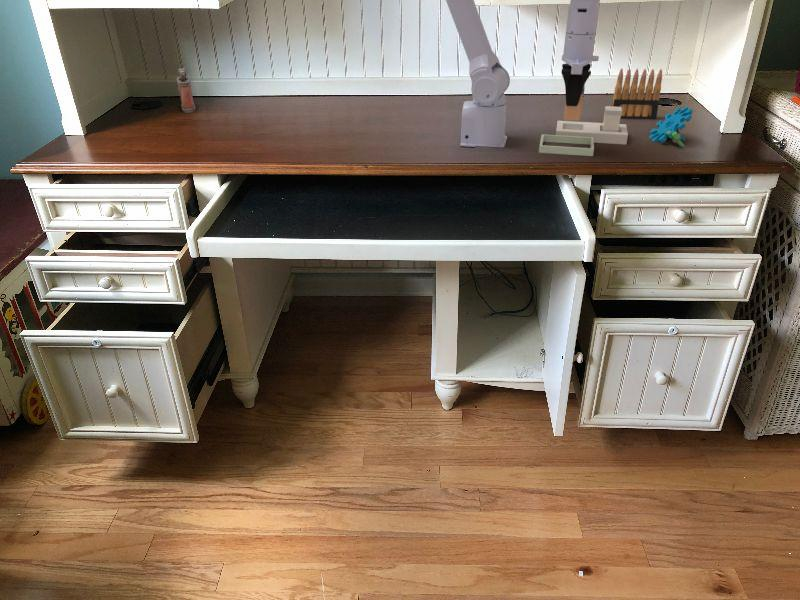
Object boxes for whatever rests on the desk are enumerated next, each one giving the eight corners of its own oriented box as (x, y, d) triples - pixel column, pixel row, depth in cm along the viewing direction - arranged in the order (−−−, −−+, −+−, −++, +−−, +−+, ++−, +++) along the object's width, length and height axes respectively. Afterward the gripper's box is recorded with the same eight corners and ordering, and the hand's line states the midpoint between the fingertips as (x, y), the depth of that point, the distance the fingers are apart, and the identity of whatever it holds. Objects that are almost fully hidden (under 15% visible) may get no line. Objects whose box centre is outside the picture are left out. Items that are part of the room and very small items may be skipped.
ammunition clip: (609, 120, 155) (618, 69, 148) (608, 118, 156) (617, 67, 150) (655, 122, 153) (666, 70, 147) (654, 119, 155) (664, 68, 148)
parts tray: (538, 155, 134) (539, 145, 133) (540, 143, 141) (541, 134, 140) (592, 158, 132) (594, 149, 131) (592, 146, 139) (593, 137, 138)
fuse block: (554, 142, 141) (556, 131, 140) (556, 131, 148) (557, 120, 146) (625, 147, 138) (627, 135, 137) (624, 135, 145) (626, 124, 143)
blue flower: (645, 126, 145) (686, 97, 139) (661, 144, 147) (702, 116, 141) (649, 148, 137) (692, 118, 131) (665, 167, 139) (708, 138, 133)
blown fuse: (563, 119, 132) (567, 88, 128) (563, 114, 135) (567, 83, 131) (580, 120, 131) (584, 88, 128) (580, 115, 134) (584, 84, 131)
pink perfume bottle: (181, 105, 172) (174, 66, 167) (194, 103, 173) (187, 65, 168) (182, 112, 166) (174, 73, 161) (195, 111, 167) (188, 71, 161)
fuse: (601, 139, 141) (605, 110, 137) (600, 134, 143) (605, 106, 140) (617, 140, 140) (622, 111, 137) (616, 135, 143) (621, 106, 139)
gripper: (603, 39, 117) (592, 113, 125) (601, 26, 129) (591, 95, 136) (563, 38, 119) (555, 112, 126) (565, 25, 131) (557, 93, 138)
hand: (571, 103), depth 131 cm, fingers closed on blown fuse, 3 cm apart
